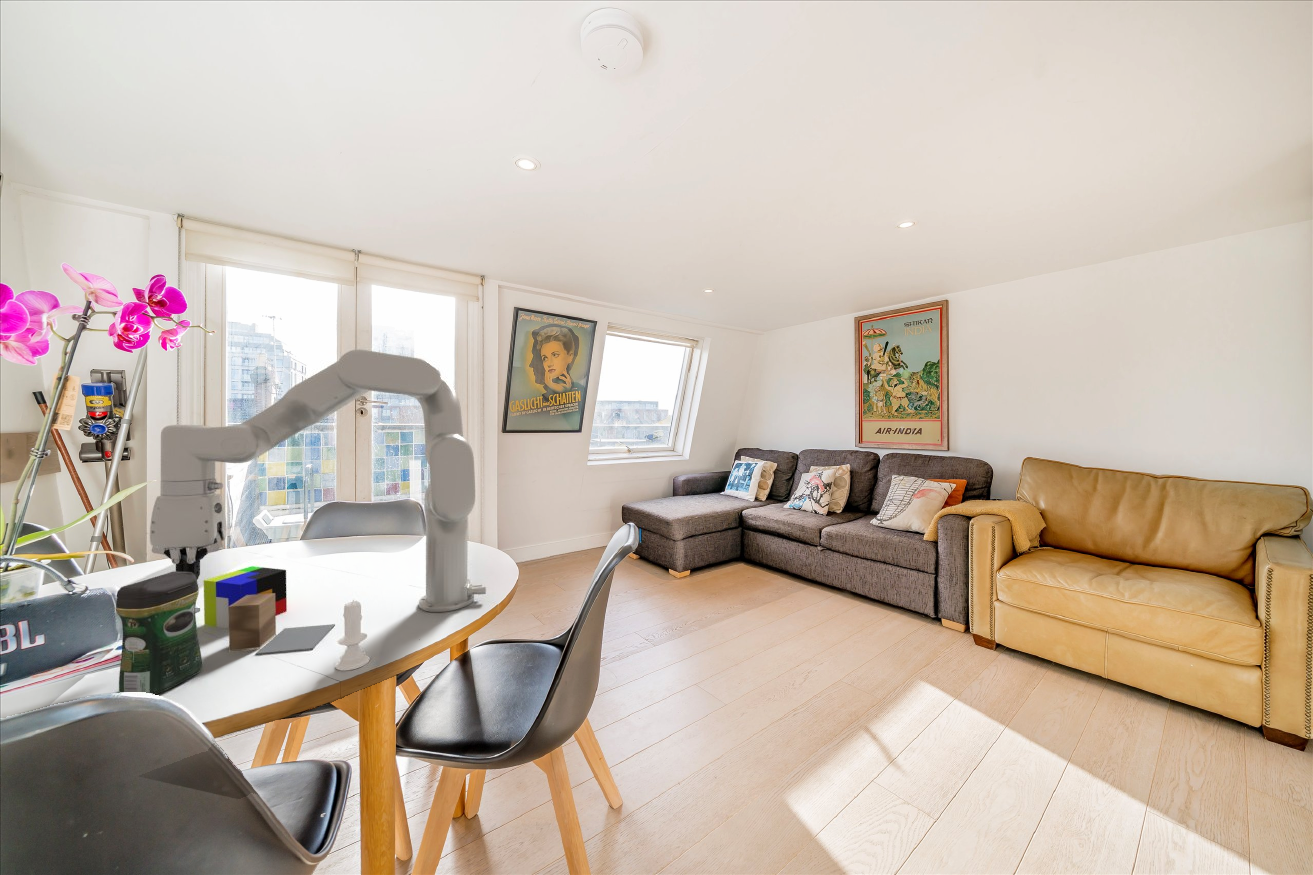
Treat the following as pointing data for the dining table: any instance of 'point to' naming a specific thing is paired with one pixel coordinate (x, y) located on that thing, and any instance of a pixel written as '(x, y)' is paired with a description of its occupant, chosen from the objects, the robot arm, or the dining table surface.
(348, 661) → the candle
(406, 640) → the dining table surface
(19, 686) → the dining table surface
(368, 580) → the dining table surface
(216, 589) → the puzzle toy
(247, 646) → the block
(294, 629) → the mat
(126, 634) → the coffee jar
